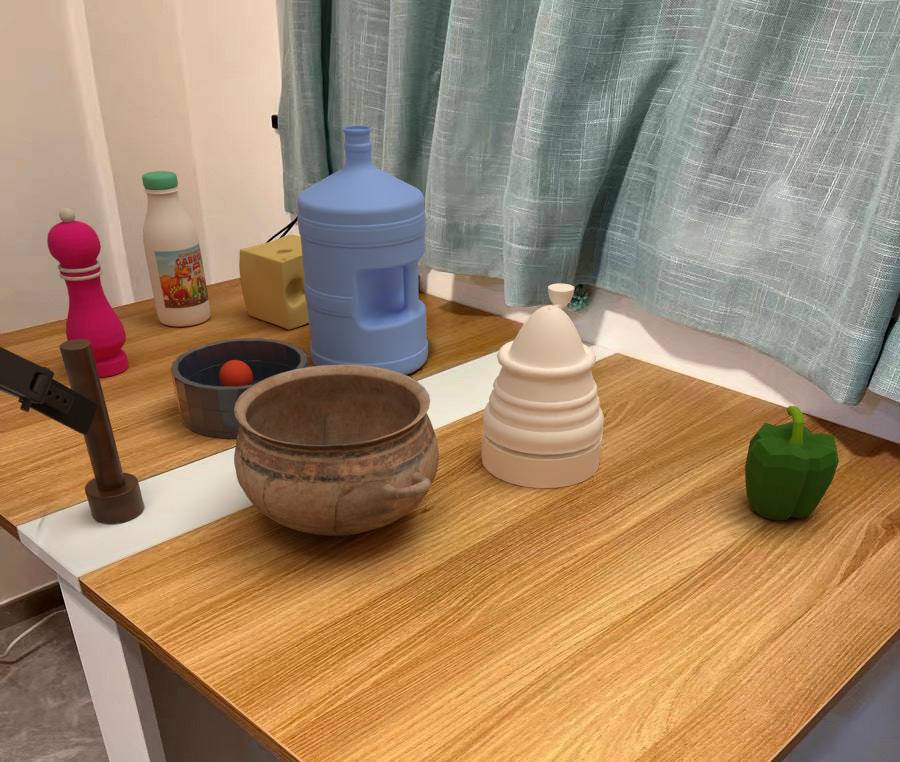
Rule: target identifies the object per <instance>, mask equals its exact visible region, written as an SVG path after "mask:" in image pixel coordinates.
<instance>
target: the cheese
mask: <svg viewBox="0 0 900 762" xmlns="http://www.w3.org/2000/svg"><path fill="white" fill-rule="evenodd" d="M238 261H239V262H238V263H239V264H238V268H239V270H238V271H239V278H240V285H241V291H242V295H243V296H242V297H243V301H244V305H245V308H246V311H247V314H248V315H249V316H250V317H253V318H255V319H258V320H260V321H263V322H267V323H269V324H272V325H275V326H277V327H280V328H283V329H286V330H287V331H291V330H293V329H296V328H299V327H302V326H306V325H307V324H309V319H308V308H307V302H306V298H305V290H304V280H305V278H304V267H303V257H302V247H301V236H300V235H296V234H287V235H285V236H282V237H279V238H277V239H274V240H271V241H268V242H264V243H261V244H257V245H253V246H248V247H244V248H240V249H239V260H238Z"/></svg>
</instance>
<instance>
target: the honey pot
mask: <svg viewBox="0 0 900 762" xmlns="http://www.w3.org/2000/svg"><path fill="white" fill-rule="evenodd" d="M547 293H548V294H547V295H548V298H549V300H550V302H551V303H552V304H548V305H543V306H541V307H539V308H537V310H535V311H534V312H533V313H532V314H530V316H529V317H528V318H527V319H526V320H525V322H524V323H523V325H522V326H521V327H520V329H519V331H518V333H517V334H516V336H515V338H514V339H513V340H511V341H509V342H506V343H504V344H503V345H502V346H501V347H500V348H499V350H498V351H497V354H496V358H497V363H498V364H499V365H500V366H501V368H500V371H499V374H498V375H497V376H496V378H494V381H493V384H492V387H493V388H492V390H491V393H490V395H489V396H488V402H487V403H486V405H485V407H484V409H483V411H482V423H481V425H482V430H481V462H482V465H483V467H484V468H485V470H486V471H487V472H488V473H489V474H491V475H492V476H494V477H495V478H497V479H499V480H501V481H504V482H506V483H509V484H512V485H516V486H520V487H523V488H524V487H525V488H526V487H527V488H534V489H557V488H564V487H570V486H574V485H576V484H580V483H583V482H585V481H586V480H588V479H590V478H592V477H593V476H594V475H595V474H596V472H597V471H598V470H599V467H600V463H601V455H602V445H603V437H604V436H603V433H604V424H605V416H604V412H603V410H602V408H601V406H600V405H601V400H600V398H599V395H598V390H599V389H598V385H597V382H596V381H595V379H594V376H593V373H592V368H593V367H594V366H595V364H596V360H597V356H596V354H595V352H594V350H593V349H592V348H591V347H590V346H588V345H587V344H584V343H583V342H582V341H583V340H582V339H581V336H580V334H579V332H578V330H577V327H576V326H575V324H574V323H573V321H572V320H571V318H570V316H569V315H568V314H567V313H566V311H564V310H563V309H564V308H565V307H566V306H567V305H569V303H570V302H571V301H572V299H573V297H574V293H575V286H574V285H572V284H568V283H553V284H552V283H551V284H550V285H548V286H547Z"/></svg>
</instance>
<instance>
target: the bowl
mask: <svg viewBox="0 0 900 762" xmlns="http://www.w3.org/2000/svg"><path fill="white" fill-rule="evenodd" d="M231 360H239V361H242V362H244V363H246V364H247V365H248V366H249V367H250V369H251V371H252V374H253V382H252V385H246V386H229V387H223V386H222V384H221V382H220V379H219V373H220V370H221V368H222V366H223V365H224V364H225V363H227V362H228V361H231ZM307 367H309V361H308V355H307V353H306V352H305V351H304V350H303V349H302V348H301V347H298V346H297V345H295V344H293V343H290V342H287V341H283V340H278V339H271V338H261V337H249V338H248V337H244V338H243V337H241V338H231V339H224V340H219V341H213V342H209V343H206V344H203V345H198V346H196V347H194V348H191V349H190V348H189V350H187V351H185V352H183V353H182V354H179V355H178V356H177V357H176V358H175V359H174V361H172V363H171V366H170V373H171V375H170V376H171V380H172V386H173V390H174V395H175V401H176V405H177V410H178V411H177V412H178V414H179V416H180V420H181V423H182V424H183V425H184V426H185V428H187V429H189V430H190V431H192V432H194V433H196V434H200V435H202V436H206V437H210V438H216V439H230V440H231V439H232V440H233V439H234V440H237V436H238V430H239V427H240V423H239V422H238V420H237V419H236V417H235V413H234V408H235V403H236V401H237V400H238V398H239V397H240V395H241V394H242V393H244V392H245V391H246V390H247V389H248V388H250V387H251V386H253V385H254V384H256V383H258V382H260V381H262V380H264V379H266V378H269V377H271V376H274V375H277V374H280V373H284V372H288V371H291V370H296V369H301V368H307Z"/></svg>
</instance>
